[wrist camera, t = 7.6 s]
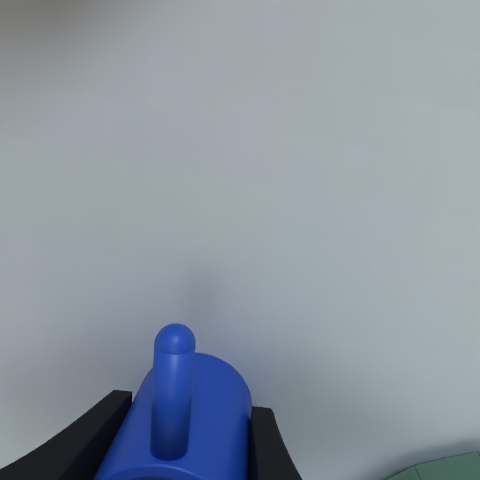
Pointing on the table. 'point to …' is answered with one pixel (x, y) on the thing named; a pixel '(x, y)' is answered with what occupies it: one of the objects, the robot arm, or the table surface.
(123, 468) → the scoop
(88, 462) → the robot arm
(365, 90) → the table surface
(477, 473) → the green plant saucer
